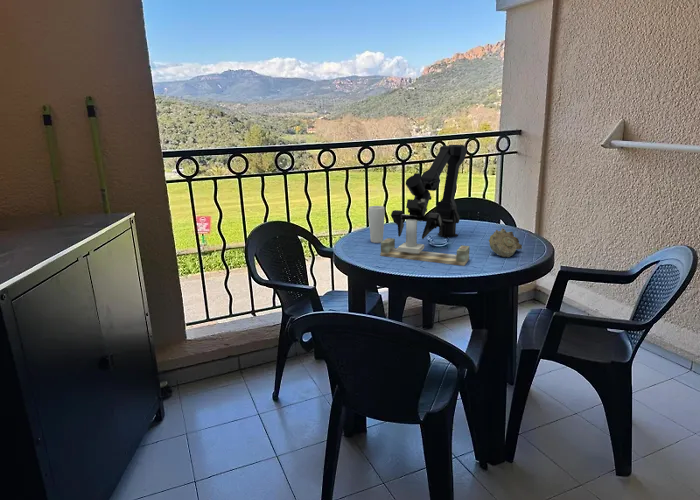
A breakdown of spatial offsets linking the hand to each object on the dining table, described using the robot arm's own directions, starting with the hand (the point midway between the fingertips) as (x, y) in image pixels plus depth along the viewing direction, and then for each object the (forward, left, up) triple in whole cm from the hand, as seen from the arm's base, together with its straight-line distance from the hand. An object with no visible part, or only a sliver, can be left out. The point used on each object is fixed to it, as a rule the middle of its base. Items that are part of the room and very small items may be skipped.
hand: (410, 237), depth 164 cm
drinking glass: (+2, -25, -8) cm, 26 cm away
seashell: (-34, +13, -8) cm, 37 cm away
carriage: (-1, -1, -5) cm, 5 cm away
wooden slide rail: (-4, +3, -8) cm, 9 cm away
